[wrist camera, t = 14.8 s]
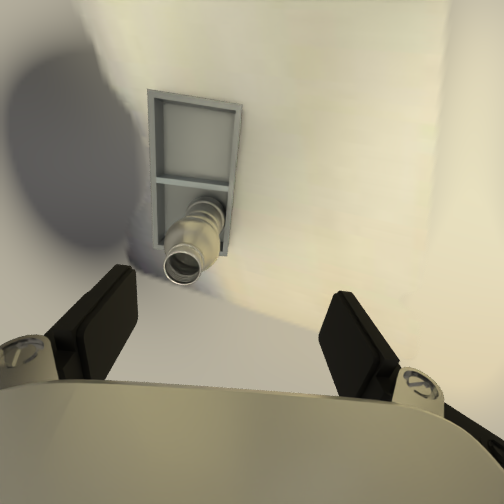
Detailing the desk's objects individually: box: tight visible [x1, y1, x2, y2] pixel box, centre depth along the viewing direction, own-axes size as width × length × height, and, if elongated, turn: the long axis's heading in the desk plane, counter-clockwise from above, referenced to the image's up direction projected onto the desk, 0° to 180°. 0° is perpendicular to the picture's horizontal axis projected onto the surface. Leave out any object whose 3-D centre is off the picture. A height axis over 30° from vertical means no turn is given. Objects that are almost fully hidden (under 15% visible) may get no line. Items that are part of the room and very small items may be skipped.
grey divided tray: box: [147, 89, 243, 256], centre depth 37 cm, size 22×12×5 cm, turn 172°
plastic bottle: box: [163, 197, 226, 285], centre depth 32 cm, size 6×7×20 cm
